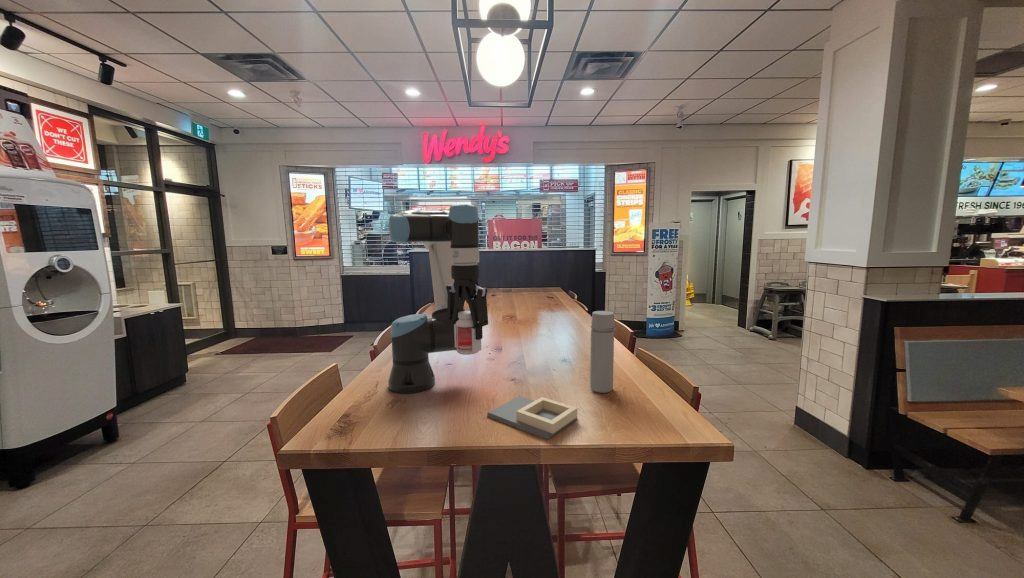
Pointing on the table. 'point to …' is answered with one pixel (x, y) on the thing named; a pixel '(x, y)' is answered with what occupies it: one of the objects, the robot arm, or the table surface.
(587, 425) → the table surface
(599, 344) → the water bottle
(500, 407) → the socket board
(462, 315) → the pill bottle
